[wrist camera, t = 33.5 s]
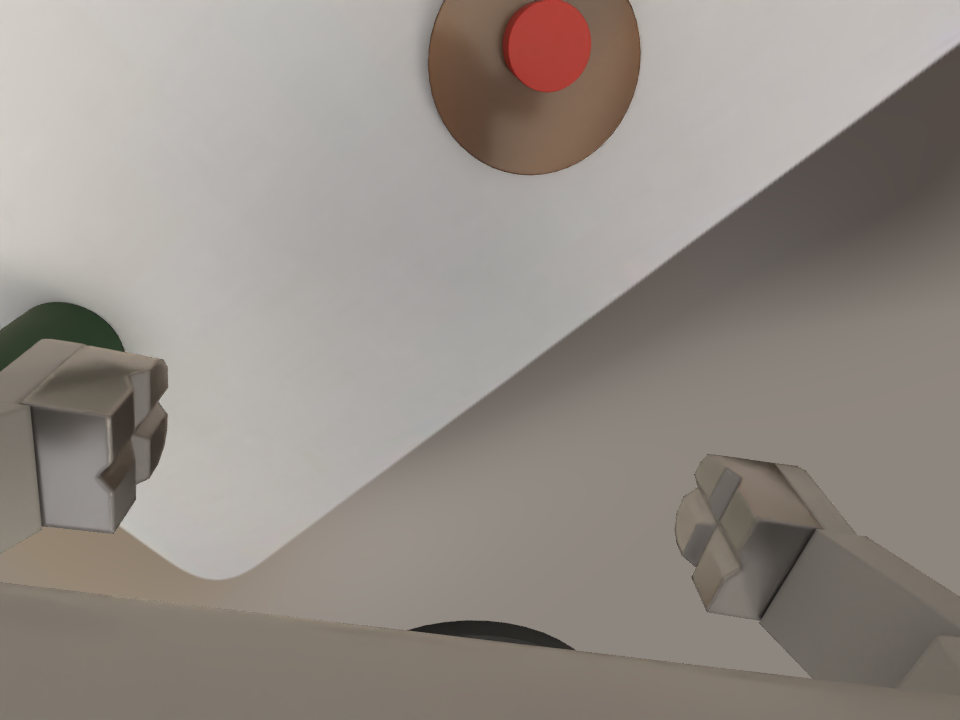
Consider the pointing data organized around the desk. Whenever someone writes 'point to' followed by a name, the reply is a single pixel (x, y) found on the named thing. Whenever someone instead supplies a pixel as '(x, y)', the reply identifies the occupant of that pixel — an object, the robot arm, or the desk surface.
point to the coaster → (514, 106)
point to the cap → (547, 45)
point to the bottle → (55, 330)
